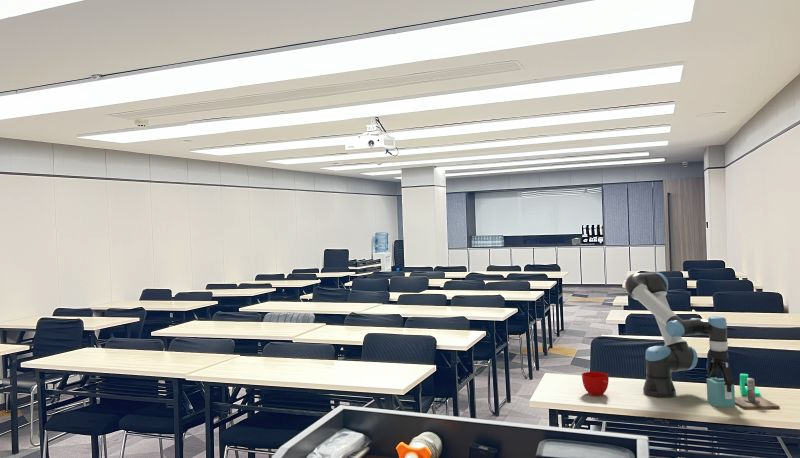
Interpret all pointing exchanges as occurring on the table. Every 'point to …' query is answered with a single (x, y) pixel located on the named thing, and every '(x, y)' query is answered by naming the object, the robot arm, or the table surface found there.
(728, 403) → the teal open-top box
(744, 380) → the camera mount
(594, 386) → the ceramic cup
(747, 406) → the board
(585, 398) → the table surface
